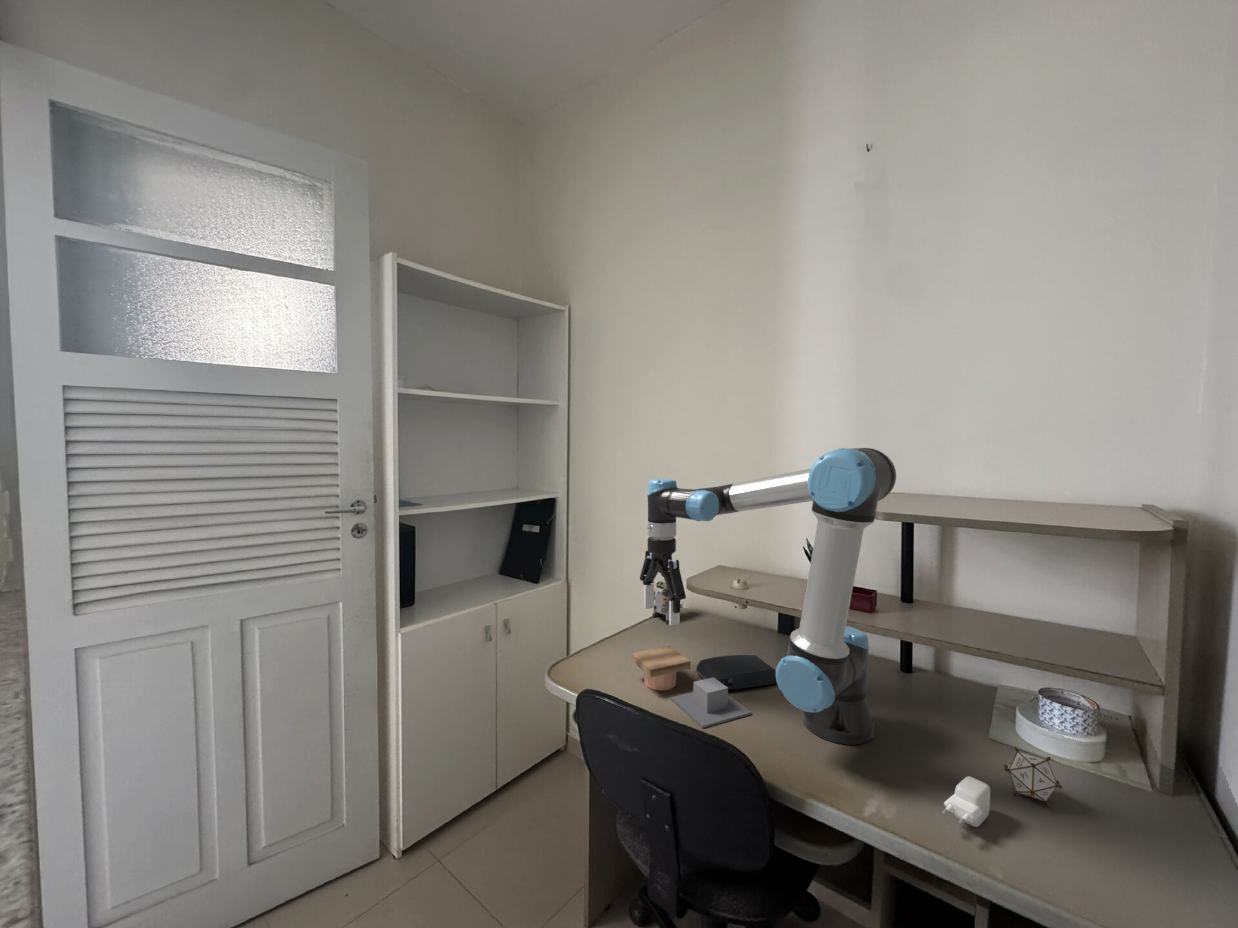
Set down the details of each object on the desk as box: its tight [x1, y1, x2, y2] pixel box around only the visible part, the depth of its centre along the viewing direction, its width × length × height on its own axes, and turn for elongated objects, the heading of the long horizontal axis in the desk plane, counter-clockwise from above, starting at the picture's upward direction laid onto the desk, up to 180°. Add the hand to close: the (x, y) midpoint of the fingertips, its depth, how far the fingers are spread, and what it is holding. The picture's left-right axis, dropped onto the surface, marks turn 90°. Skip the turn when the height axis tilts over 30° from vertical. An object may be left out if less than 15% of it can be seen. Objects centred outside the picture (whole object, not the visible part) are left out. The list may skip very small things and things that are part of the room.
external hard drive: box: [695, 653, 777, 690], centre depth 142 cm, size 13×19×4 cm
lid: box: [630, 645, 692, 678], centre depth 139 cm, size 11×12×2 cm
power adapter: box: [941, 775, 991, 828], centre depth 89 cm, size 11×5×6 cm, turn 126°
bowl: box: [643, 672, 677, 691], centre depth 139 cm, size 8×8×5 cm
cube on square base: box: [670, 677, 752, 729], centre depth 127 cm, size 14×14×6 cm
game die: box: [1002, 746, 1064, 808], centre depth 96 cm, size 9×8×10 cm
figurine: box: [651, 579, 684, 625], centre depth 187 cm, size 9×12×15 cm
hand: (661, 615), depth 138 cm, fingers open, 13 cm apart
